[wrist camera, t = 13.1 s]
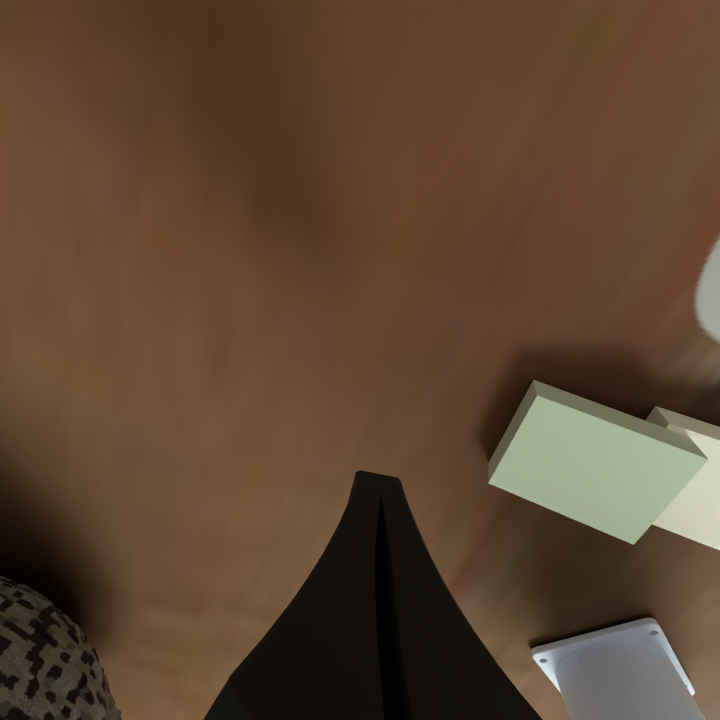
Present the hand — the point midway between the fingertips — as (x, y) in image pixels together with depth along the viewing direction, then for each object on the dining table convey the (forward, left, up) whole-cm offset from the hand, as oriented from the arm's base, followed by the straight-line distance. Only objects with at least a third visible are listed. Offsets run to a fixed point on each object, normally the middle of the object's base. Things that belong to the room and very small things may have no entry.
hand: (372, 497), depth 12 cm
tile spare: (-5, -4, -6) cm, 8 cm away
